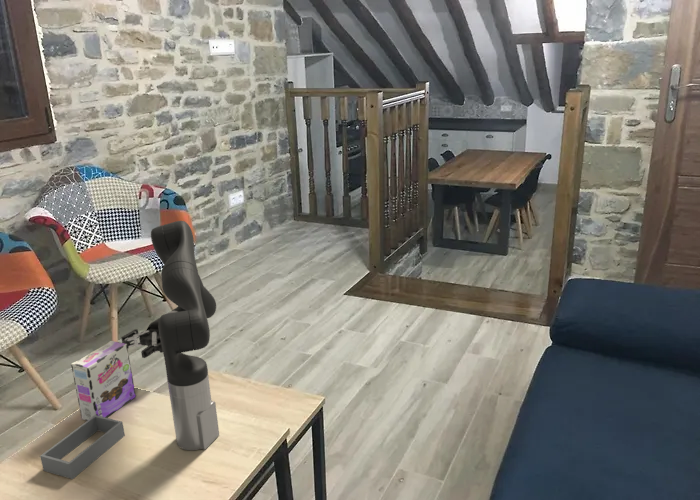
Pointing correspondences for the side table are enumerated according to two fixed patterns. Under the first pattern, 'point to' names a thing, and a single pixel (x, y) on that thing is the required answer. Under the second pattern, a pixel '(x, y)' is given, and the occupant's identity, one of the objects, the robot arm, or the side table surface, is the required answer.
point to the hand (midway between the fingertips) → (130, 352)
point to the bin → (74, 439)
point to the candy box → (103, 380)
